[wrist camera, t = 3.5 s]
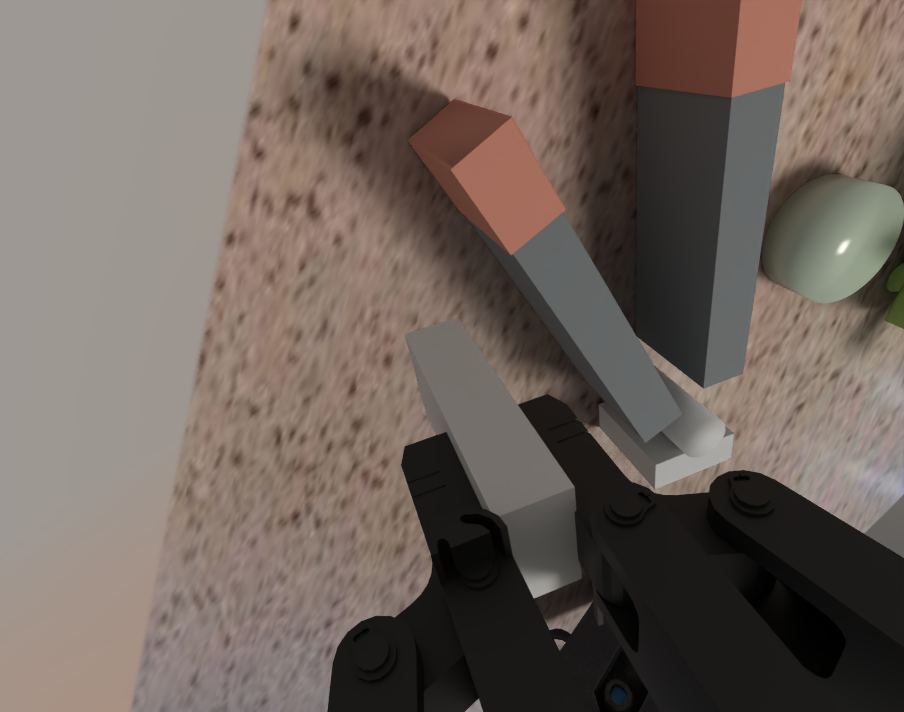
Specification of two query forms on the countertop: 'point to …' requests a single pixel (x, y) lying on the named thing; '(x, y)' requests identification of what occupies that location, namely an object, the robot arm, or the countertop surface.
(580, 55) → the countertop surface
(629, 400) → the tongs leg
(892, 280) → the kettle
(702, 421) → the tongs base
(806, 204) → the grey-green pebble
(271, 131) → the countertop surface
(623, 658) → the tool
